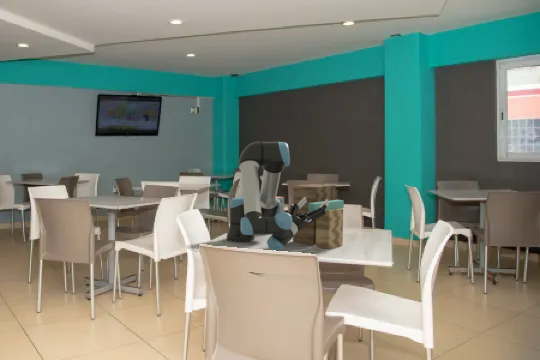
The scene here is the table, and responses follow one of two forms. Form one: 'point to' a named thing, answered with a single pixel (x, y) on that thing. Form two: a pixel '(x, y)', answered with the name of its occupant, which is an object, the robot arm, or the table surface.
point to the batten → (332, 205)
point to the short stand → (330, 229)
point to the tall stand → (312, 195)
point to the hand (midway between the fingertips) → (316, 200)
